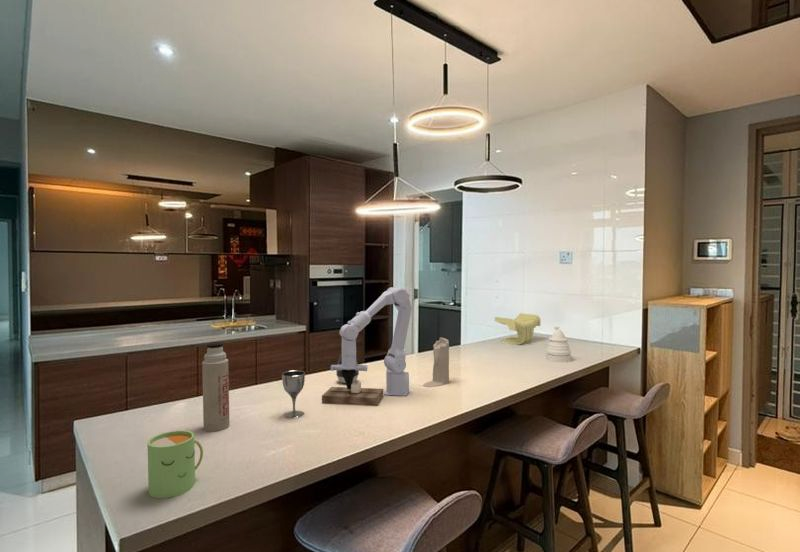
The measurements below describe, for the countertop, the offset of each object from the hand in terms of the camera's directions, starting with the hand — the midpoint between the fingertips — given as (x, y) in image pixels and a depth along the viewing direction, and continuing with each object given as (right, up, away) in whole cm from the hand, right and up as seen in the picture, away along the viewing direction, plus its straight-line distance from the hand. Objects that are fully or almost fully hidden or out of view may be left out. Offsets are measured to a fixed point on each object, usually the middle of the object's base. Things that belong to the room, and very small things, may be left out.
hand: (349, 388), depth 172 cm
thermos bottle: (-41, -6, -28) cm, 50 cm away
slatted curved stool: (+100, 0, +119) cm, 155 cm away
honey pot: (+108, -2, +67) cm, 128 cm away
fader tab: (+3, -1, 0) cm, 3 cm away
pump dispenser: (-4, -4, +25) cm, 26 cm away
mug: (-35, -7, -65) cm, 74 cm away
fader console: (+2, -4, 0) cm, 5 cm away
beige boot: (+36, -4, +22) cm, 43 cm away
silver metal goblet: (-18, -5, -16) cm, 25 cm away
